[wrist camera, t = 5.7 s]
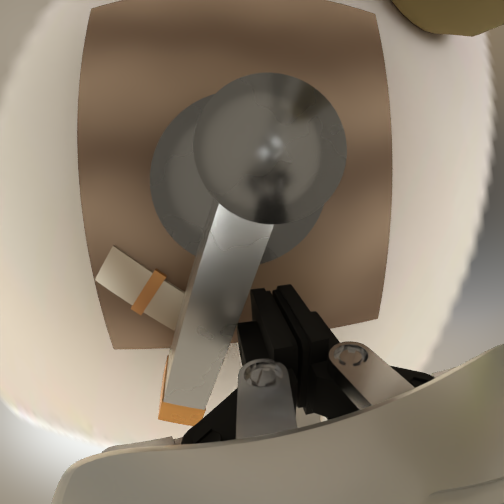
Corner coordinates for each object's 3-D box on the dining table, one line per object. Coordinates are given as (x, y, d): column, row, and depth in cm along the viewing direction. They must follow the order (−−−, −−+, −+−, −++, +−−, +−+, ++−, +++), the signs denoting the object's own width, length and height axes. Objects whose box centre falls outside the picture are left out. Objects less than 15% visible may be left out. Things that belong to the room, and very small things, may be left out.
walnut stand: (99, 20, 9) (89, 6, 7) (362, 23, 11) (377, 12, 9) (120, 334, 14) (112, 351, 13) (365, 307, 16) (379, 320, 15)
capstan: (188, 76, 10) (179, 24, 5) (338, 133, 11) (404, 122, 7) (116, 344, 12) (92, 410, 8) (245, 374, 14) (261, 441, 10)
